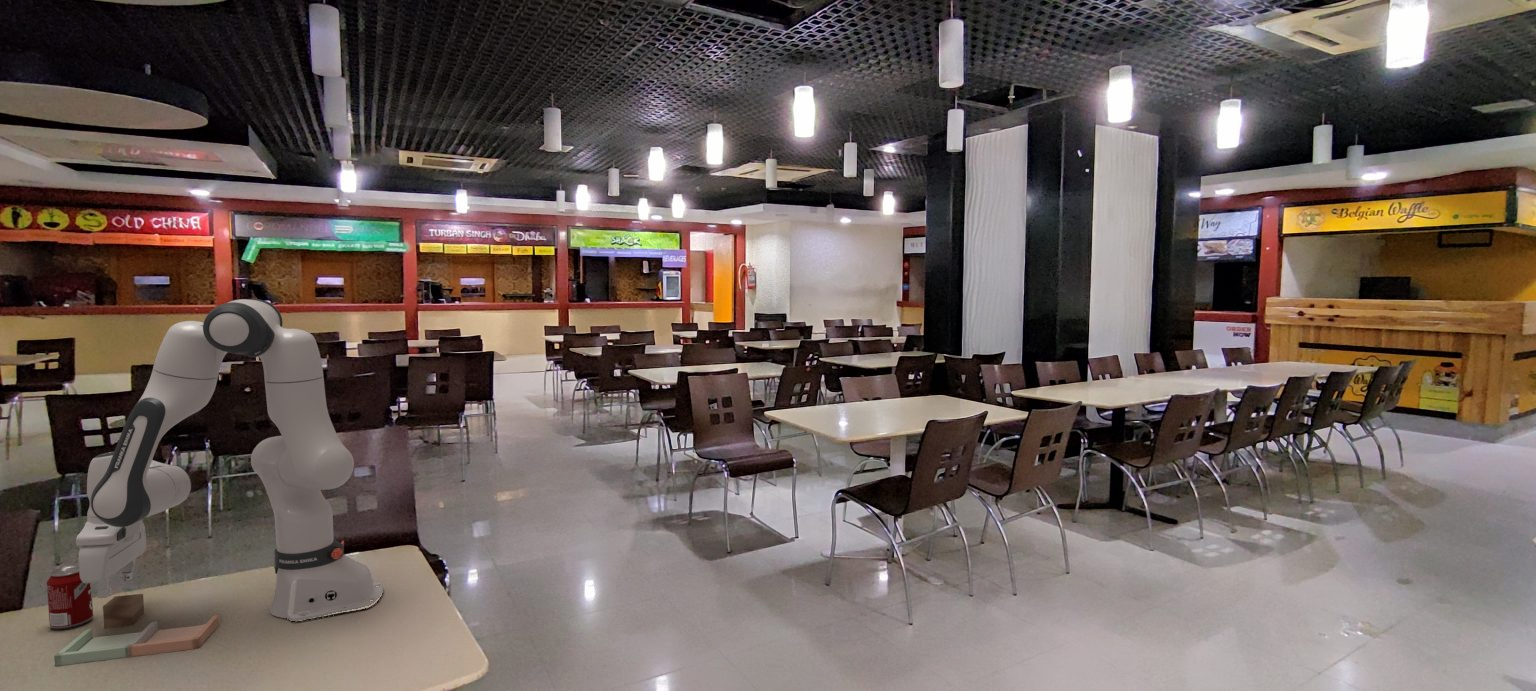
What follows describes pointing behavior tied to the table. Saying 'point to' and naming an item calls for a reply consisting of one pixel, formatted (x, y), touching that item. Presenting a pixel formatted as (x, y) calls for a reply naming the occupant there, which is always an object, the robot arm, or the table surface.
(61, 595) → the soda can
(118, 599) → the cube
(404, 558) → the table surface
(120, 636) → the green and pink trays
